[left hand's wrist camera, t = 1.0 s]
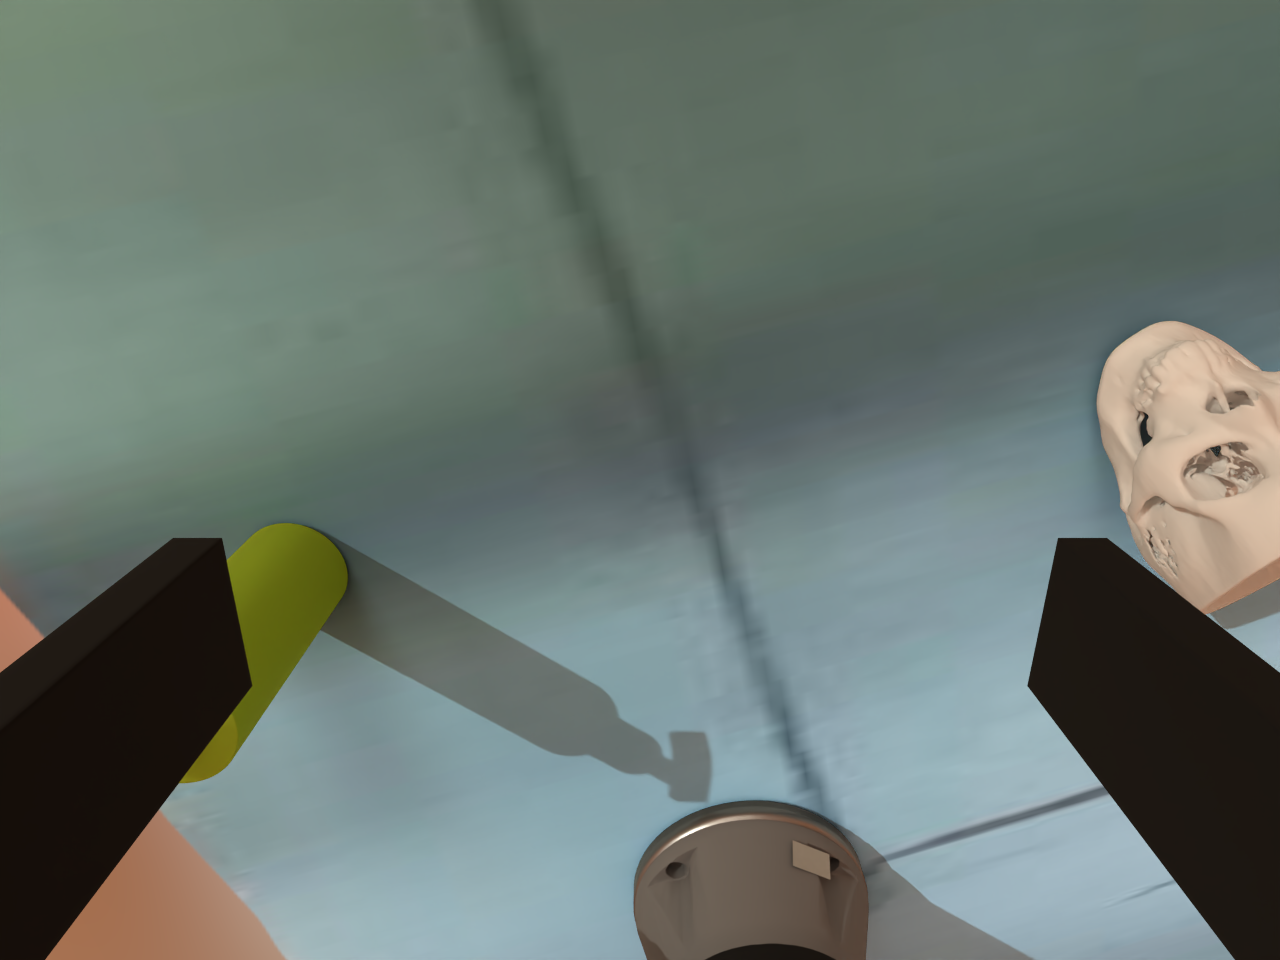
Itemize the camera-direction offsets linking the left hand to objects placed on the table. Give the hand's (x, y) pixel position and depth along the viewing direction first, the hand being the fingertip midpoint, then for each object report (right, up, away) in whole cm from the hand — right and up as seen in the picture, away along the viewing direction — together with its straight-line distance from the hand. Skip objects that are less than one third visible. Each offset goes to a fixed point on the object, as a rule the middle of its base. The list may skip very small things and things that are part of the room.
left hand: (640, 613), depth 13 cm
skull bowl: (+28, +4, +29) cm, 41 cm away
